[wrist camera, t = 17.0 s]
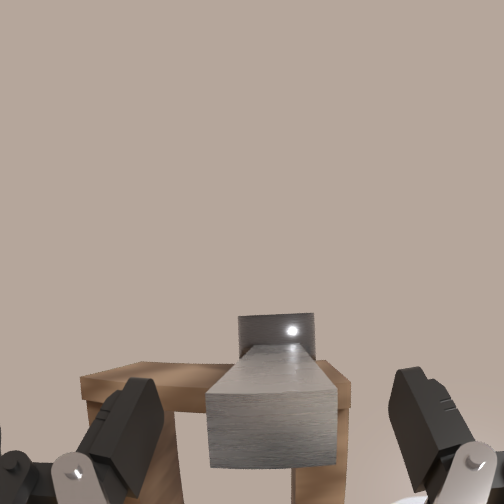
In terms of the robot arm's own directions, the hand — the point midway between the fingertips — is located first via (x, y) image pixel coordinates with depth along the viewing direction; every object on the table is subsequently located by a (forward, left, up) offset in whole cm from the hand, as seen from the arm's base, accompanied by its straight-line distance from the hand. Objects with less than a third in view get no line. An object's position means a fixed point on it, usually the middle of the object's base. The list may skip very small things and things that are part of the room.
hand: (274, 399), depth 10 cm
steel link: (0, +7, -1) cm, 7 cm away
